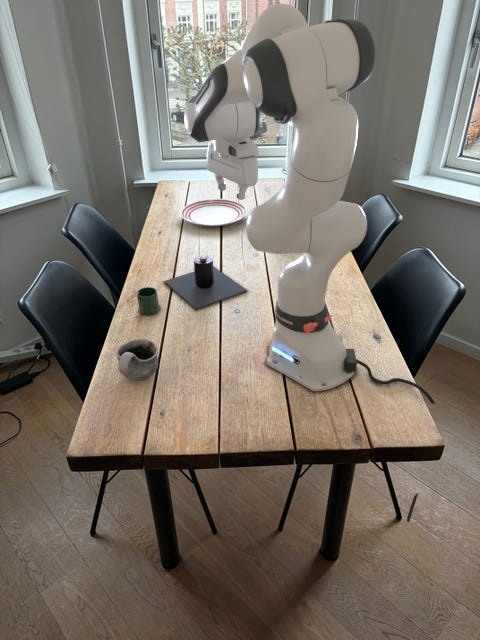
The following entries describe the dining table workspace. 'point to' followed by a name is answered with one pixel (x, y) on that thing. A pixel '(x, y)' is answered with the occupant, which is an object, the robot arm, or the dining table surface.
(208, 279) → the black canister with knob
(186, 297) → the mat
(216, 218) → the dinner plate
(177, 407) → the dining table surface
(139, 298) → the glass
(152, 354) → the mug
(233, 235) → the dining table surface
